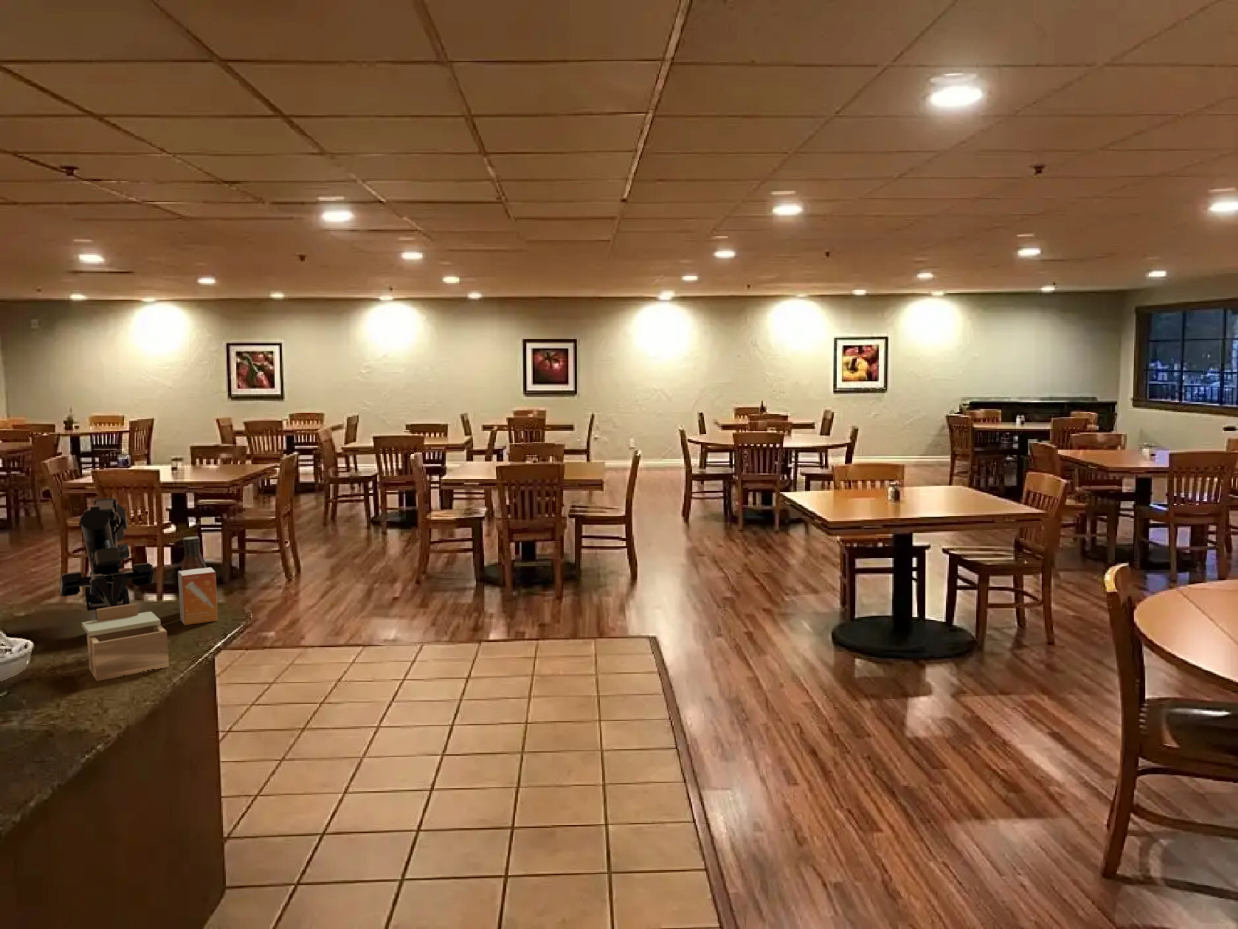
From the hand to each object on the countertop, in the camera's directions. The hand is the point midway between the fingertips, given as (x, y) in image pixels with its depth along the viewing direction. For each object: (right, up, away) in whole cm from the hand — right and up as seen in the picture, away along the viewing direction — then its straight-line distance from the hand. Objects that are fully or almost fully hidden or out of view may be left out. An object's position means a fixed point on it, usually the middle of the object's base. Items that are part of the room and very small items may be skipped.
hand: (114, 609), depth 213 cm
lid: (+4, -3, -5) cm, 7 cm away
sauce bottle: (+2, -6, +37) cm, 38 cm away
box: (+8, -11, -8) cm, 16 cm away
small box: (+7, -7, +28) cm, 30 cm away
